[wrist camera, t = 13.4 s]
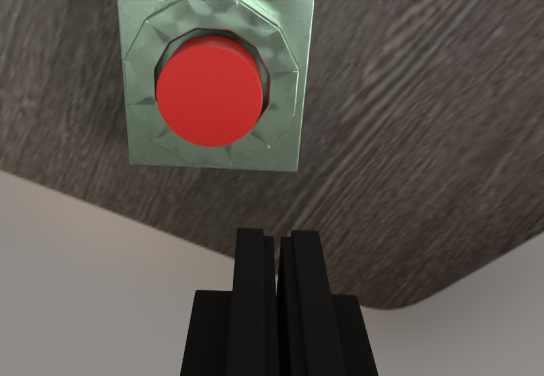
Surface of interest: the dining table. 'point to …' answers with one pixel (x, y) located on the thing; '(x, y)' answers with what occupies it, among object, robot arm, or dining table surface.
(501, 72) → the dining table surface
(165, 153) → the switch block
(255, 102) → the button
